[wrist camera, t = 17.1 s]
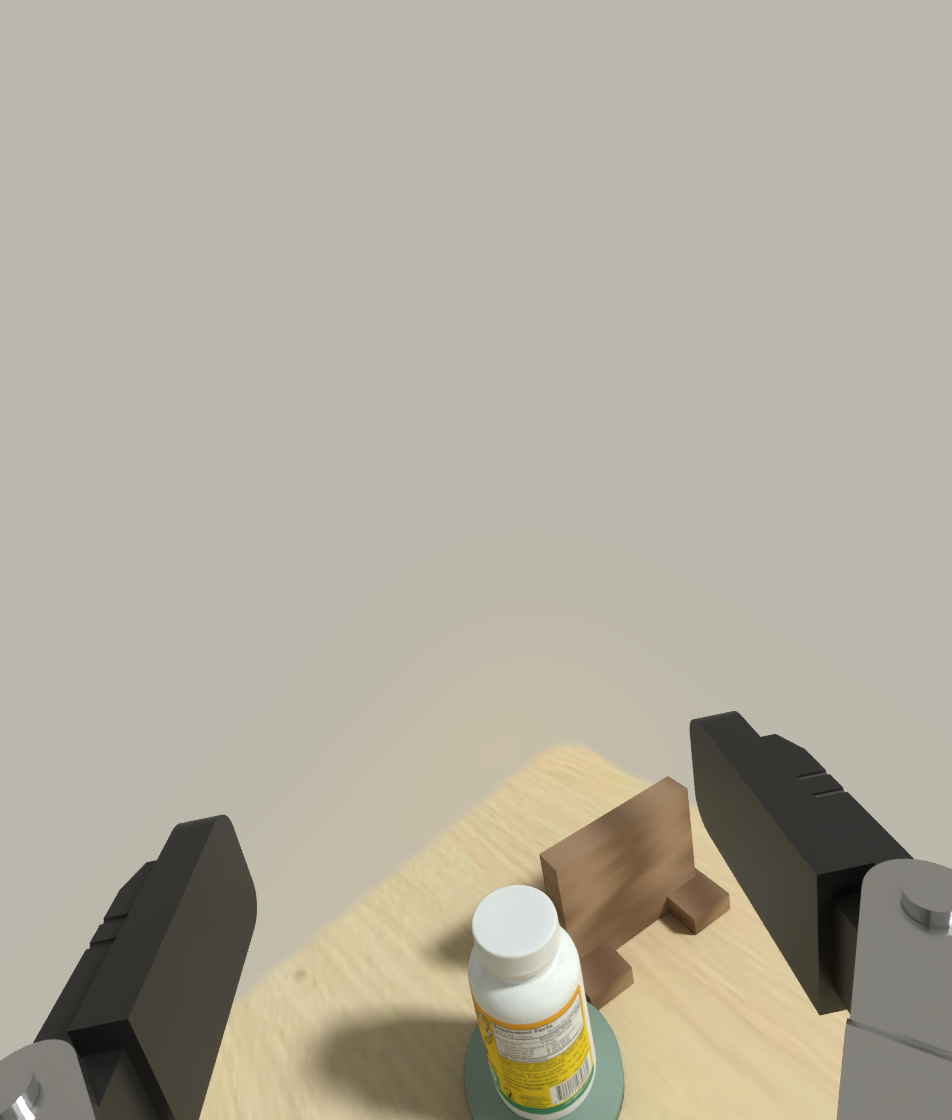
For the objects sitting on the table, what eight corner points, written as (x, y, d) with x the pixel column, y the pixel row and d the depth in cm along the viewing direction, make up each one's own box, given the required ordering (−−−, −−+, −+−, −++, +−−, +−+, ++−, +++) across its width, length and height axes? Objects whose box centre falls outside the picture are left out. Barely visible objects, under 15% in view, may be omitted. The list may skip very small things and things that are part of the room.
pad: (436, 1111, 32) (432, 1097, 32) (518, 978, 38) (516, 965, 38) (579, 1212, 28) (576, 1197, 27) (648, 1043, 34) (646, 1029, 33)
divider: (592, 1014, 36) (573, 901, 33) (531, 939, 41) (511, 837, 38) (730, 908, 40) (722, 802, 38) (659, 853, 45) (648, 757, 43)
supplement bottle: (593, 1135, 29) (564, 978, 26) (480, 1117, 31) (441, 967, 28) (600, 1018, 34) (577, 875, 31) (502, 1007, 36) (471, 870, 33)
